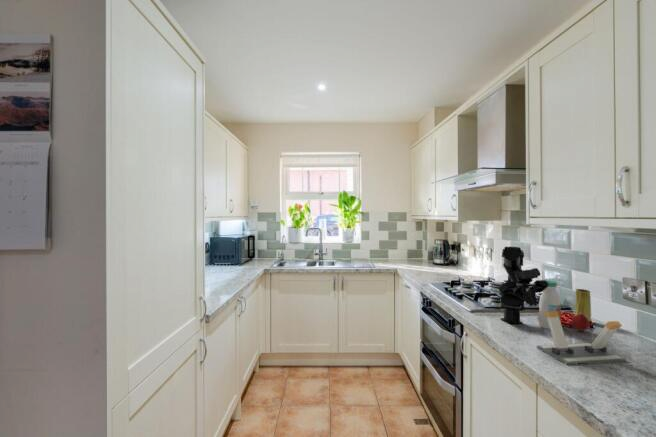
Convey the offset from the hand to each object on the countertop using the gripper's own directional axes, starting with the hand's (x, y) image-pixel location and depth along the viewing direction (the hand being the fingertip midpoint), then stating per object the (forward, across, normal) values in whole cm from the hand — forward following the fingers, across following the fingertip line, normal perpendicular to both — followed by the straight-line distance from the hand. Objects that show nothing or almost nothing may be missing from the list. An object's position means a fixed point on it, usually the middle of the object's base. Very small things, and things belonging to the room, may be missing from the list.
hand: (534, 305), depth 125 cm
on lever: (+18, +13, -1) cm, 22 cm away
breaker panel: (+19, +6, 0) cm, 20 cm away
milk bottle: (+2, +17, +18) cm, 25 cm away
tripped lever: (+18, 0, -2) cm, 18 cm away
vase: (-2, +38, +21) cm, 44 cm away
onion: (+6, +26, +14) cm, 30 cm away
